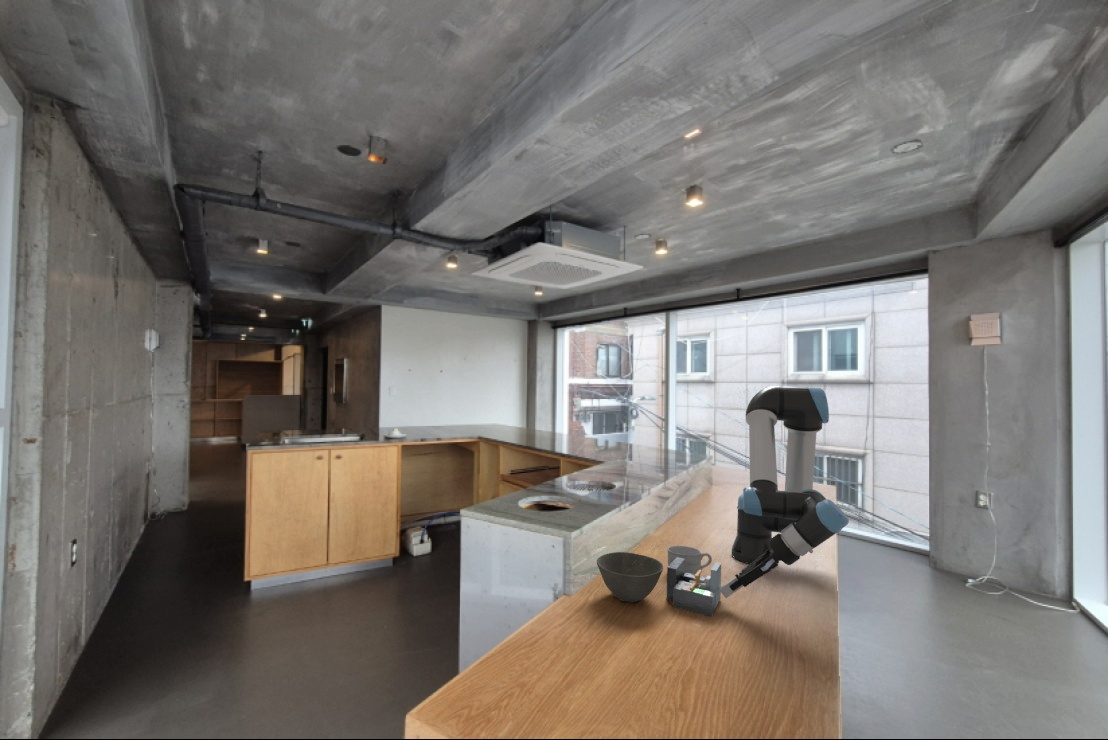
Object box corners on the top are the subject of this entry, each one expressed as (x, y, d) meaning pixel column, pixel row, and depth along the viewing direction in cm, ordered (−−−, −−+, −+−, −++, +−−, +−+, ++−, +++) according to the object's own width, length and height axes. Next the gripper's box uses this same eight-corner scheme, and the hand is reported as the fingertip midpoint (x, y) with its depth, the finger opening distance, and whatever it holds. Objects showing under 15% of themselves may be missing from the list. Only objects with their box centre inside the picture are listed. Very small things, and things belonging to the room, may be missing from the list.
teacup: (664, 576, 150) (665, 551, 150) (669, 565, 160) (670, 541, 160) (710, 585, 145) (710, 559, 145) (712, 573, 155) (712, 548, 155)
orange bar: (698, 577, 137) (698, 569, 137) (701, 578, 137) (701, 570, 137) (689, 590, 127) (689, 582, 128) (692, 591, 127) (692, 582, 127)
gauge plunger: (692, 591, 139) (693, 557, 139) (720, 598, 134) (721, 563, 135) (686, 600, 132) (687, 564, 133) (715, 607, 128) (716, 570, 129)
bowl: (674, 598, 134) (675, 563, 135) (638, 621, 120) (639, 581, 121) (620, 579, 147) (621, 546, 147) (582, 596, 133) (583, 561, 134)
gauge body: (676, 587, 142) (676, 557, 143) (721, 598, 136) (722, 566, 136) (662, 603, 131) (663, 571, 131) (711, 616, 124) (712, 582, 124)
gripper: (800, 564, 116) (728, 614, 124) (802, 550, 127) (736, 596, 135) (777, 538, 119) (708, 589, 127) (781, 526, 130) (718, 573, 138)
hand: (723, 593), depth 131 cm, fingers closed
